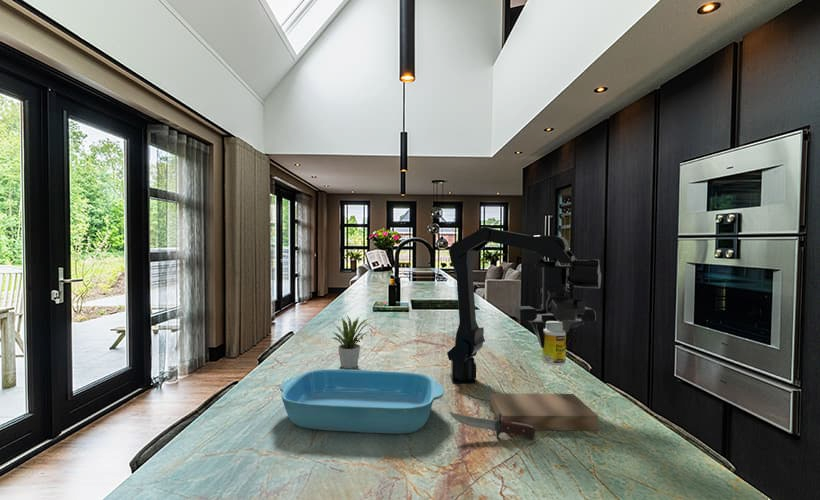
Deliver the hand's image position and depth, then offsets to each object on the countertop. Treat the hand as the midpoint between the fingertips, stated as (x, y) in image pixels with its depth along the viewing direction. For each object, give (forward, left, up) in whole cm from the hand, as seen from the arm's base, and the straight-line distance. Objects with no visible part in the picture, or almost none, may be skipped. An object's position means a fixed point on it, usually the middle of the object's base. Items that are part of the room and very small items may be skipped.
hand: (553, 347), depth 95 cm
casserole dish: (-47, -9, -13) cm, 50 cm away
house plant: (-54, +26, -13) cm, 61 cm away
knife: (-20, -19, -13) cm, 31 cm away
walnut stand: (-7, -10, -13) cm, 18 cm away
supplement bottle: (0, 0, -4) cm, 4 cm away
